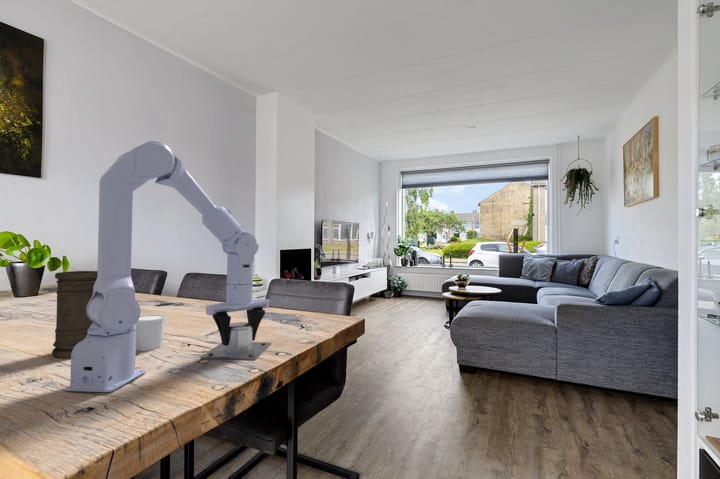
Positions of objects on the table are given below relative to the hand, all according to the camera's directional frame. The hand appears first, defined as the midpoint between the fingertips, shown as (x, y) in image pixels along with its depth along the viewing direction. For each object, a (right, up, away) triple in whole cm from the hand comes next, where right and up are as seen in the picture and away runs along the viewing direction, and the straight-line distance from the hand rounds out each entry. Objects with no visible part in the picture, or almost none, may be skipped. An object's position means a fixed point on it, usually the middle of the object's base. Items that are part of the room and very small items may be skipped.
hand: (238, 342), depth 83 cm
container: (-35, -2, -3) cm, 35 cm away
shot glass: (-22, -2, +2) cm, 22 cm away
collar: (0, -2, 0) cm, 2 cm away
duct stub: (0, -2, 0) cm, 2 cm away
